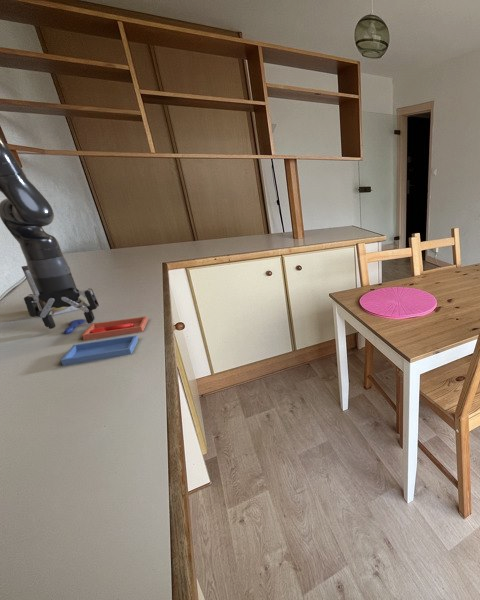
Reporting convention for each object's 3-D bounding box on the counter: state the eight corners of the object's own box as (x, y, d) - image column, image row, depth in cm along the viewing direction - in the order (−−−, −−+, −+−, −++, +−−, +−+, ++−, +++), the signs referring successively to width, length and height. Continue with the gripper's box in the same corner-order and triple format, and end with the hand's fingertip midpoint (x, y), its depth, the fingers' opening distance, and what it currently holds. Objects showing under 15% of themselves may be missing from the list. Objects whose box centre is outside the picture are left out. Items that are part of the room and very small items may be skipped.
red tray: (84, 341, 87) (81, 335, 87) (93, 329, 94) (91, 323, 93) (142, 332, 93) (141, 326, 92) (148, 321, 100) (146, 316, 99)
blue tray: (63, 367, 76) (60, 360, 75) (76, 351, 83) (73, 344, 82) (132, 355, 82) (129, 348, 81) (138, 341, 88) (136, 335, 88)
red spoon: (135, 325, 97) (134, 320, 96) (133, 329, 94) (132, 325, 93) (94, 330, 92) (92, 326, 92) (90, 335, 89) (88, 331, 89)
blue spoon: (75, 334, 91) (73, 329, 91) (59, 336, 90) (57, 332, 89) (87, 321, 99) (85, 317, 99) (72, 322, 98) (71, 318, 97)
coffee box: (78, 304, 110) (61, 260, 104) (83, 309, 107) (66, 263, 101) (40, 312, 103) (20, 265, 97) (44, 318, 100) (24, 269, 94)
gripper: (6, 279, 81) (32, 335, 87) (80, 273, 87) (99, 325, 93) (22, 272, 87) (45, 324, 93) (89, 266, 93) (107, 316, 99)
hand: (72, 325), depth 93 cm, fingers open, 8 cm apart
